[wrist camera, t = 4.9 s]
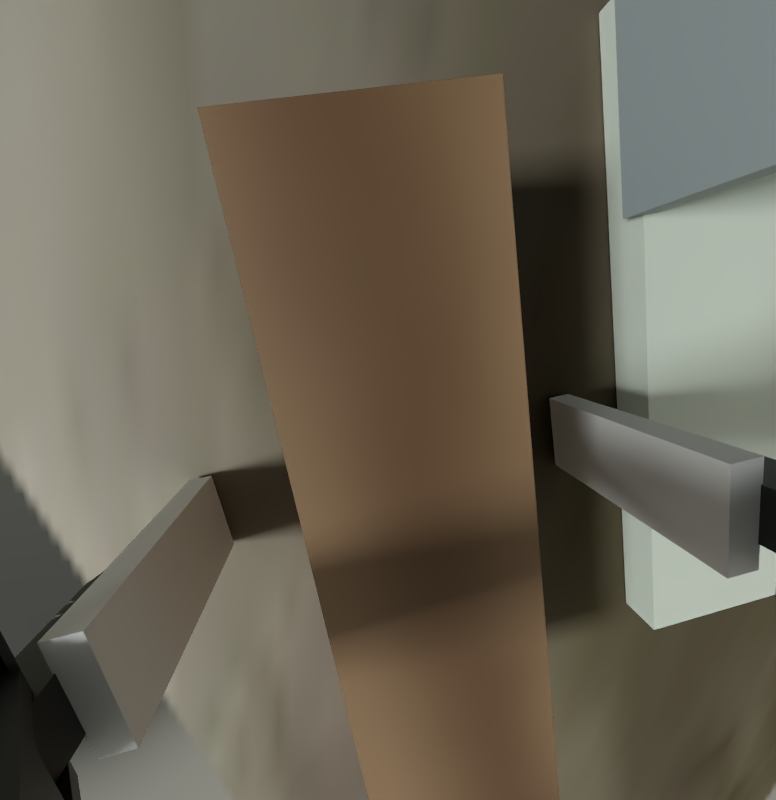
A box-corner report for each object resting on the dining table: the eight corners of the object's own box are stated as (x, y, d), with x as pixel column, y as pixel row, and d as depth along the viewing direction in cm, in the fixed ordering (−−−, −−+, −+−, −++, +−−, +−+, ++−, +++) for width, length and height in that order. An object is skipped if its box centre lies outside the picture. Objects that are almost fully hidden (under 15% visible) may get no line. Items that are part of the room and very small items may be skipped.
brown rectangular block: (368, 668, 16) (387, 873, 10) (268, 215, 12) (196, 107, 6) (480, 638, 16) (560, 818, 10) (422, 193, 12) (502, 73, 6)
